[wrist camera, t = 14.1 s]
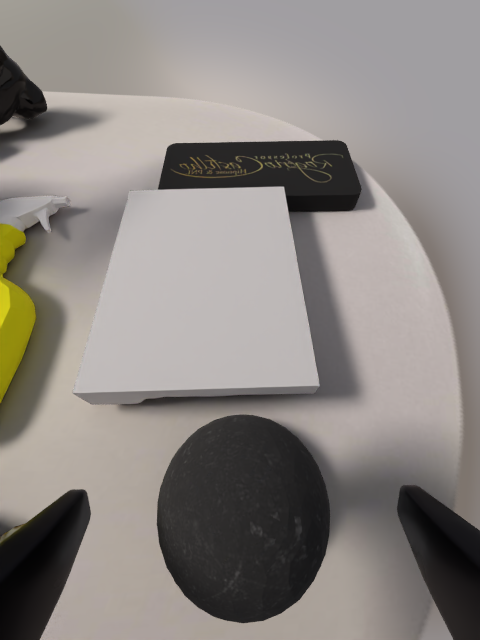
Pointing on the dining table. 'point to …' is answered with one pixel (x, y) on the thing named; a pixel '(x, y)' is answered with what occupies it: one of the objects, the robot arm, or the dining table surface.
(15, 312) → the spray bottle
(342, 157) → the nameplate
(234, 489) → the light bulb
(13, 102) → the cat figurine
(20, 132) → the dining table surface
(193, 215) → the food packaging
